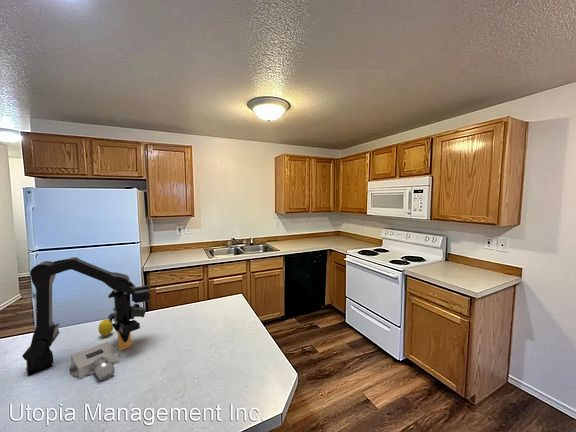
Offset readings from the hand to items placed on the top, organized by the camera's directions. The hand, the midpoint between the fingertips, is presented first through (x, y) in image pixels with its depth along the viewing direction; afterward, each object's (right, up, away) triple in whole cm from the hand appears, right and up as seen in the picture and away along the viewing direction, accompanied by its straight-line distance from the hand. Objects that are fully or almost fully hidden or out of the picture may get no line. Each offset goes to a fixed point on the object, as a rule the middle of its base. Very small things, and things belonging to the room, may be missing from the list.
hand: (124, 340), depth 107 cm
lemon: (-14, -3, +9) cm, 17 cm away
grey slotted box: (-2, -4, -12) cm, 13 cm away
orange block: (0, -3, 0) cm, 3 cm away
